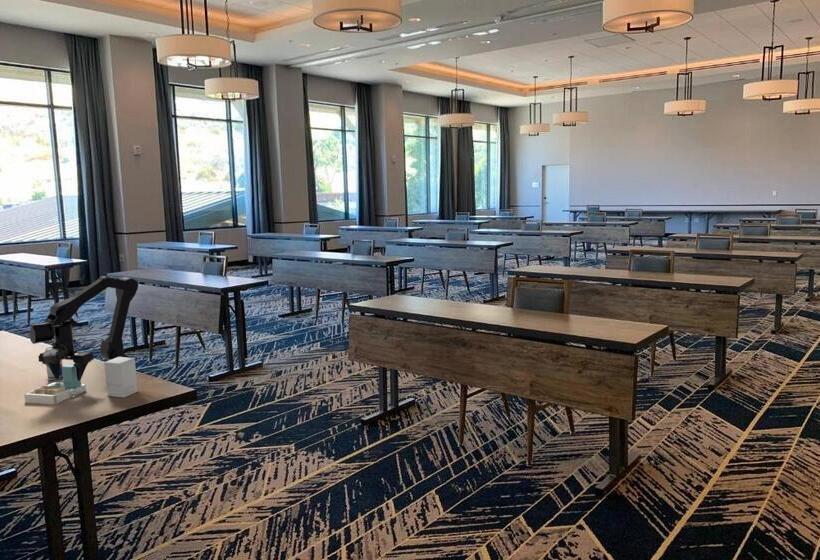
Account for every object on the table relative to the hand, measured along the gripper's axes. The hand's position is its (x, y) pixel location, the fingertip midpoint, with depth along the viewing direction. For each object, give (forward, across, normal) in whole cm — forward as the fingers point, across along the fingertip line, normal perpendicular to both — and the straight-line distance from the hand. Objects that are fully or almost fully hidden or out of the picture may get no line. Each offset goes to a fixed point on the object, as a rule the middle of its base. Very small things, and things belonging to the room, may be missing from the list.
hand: (68, 379), depth 231 cm
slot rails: (+4, 0, -3) cm, 5 cm away
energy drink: (+4, -16, +12) cm, 20 cm away
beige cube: (+4, +2, -9) cm, 10 cm away
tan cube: (+4, -2, -9) cm, 10 cm away
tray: (+4, 0, -10) cm, 11 cm away
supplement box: (+4, +22, 0) cm, 22 cm away
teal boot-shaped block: (+4, 0, 0) cm, 4 cm away
